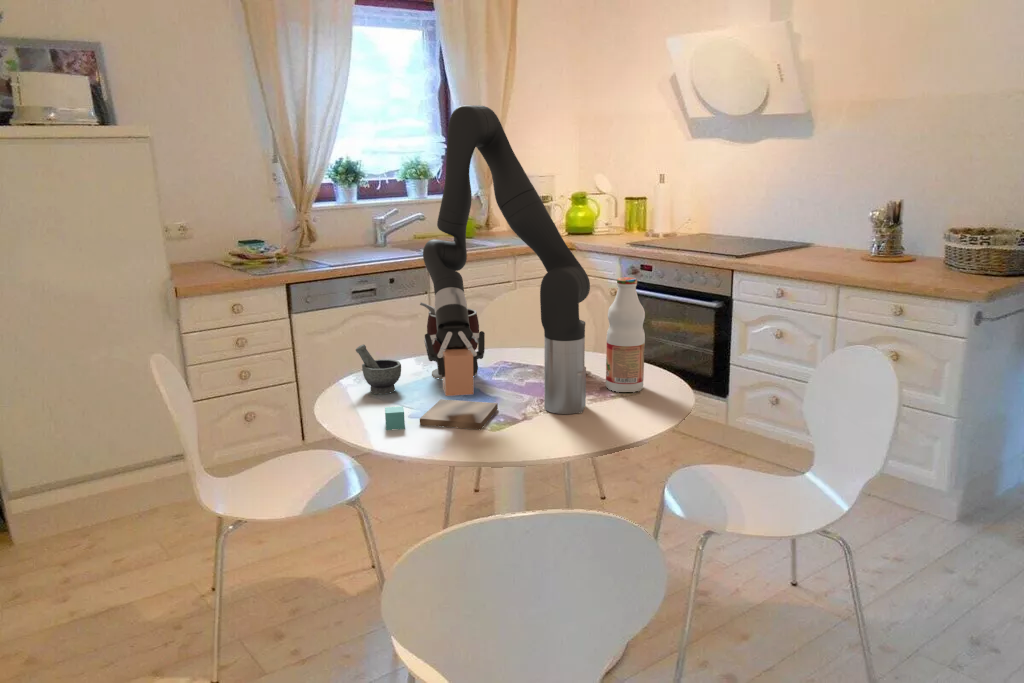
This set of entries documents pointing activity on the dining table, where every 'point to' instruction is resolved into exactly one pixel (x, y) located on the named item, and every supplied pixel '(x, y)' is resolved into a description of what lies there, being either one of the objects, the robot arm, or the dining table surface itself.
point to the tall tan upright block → (458, 372)
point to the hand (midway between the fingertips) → (458, 374)
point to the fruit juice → (625, 339)
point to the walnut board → (459, 414)
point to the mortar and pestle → (379, 372)
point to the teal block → (394, 418)
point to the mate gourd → (433, 330)
